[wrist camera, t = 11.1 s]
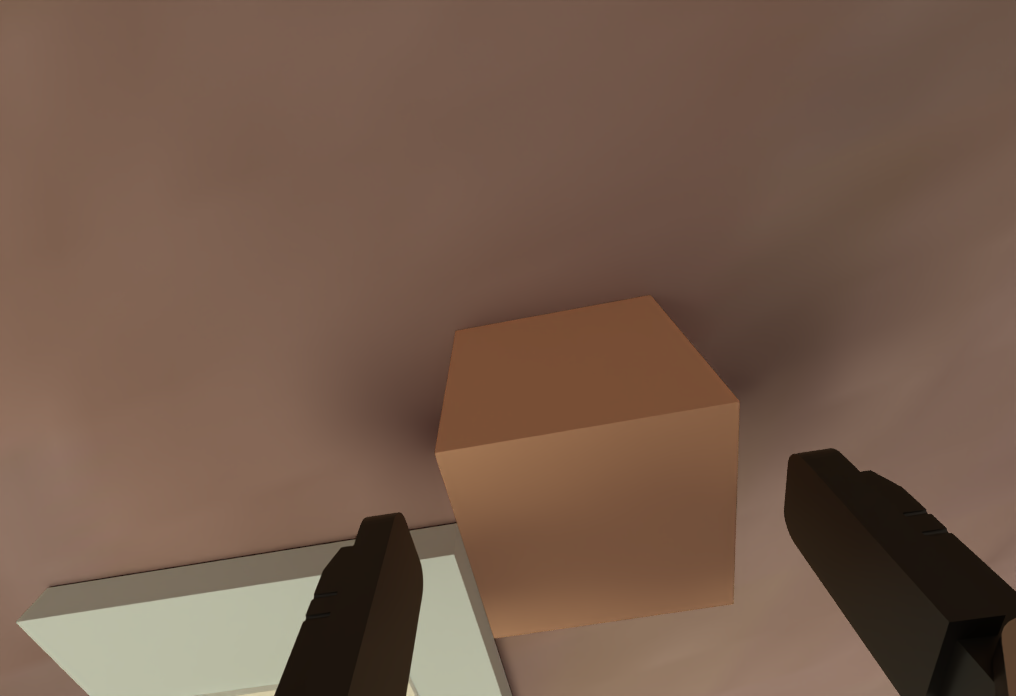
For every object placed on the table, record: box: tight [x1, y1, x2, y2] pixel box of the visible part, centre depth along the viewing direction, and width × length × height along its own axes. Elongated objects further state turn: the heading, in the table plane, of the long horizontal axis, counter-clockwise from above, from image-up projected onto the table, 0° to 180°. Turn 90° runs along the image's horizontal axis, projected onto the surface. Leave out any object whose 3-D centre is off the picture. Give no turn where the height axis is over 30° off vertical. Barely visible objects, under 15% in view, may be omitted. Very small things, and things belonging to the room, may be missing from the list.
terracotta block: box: [435, 295, 740, 639], centre depth 11 cm, size 5×5×5 cm
